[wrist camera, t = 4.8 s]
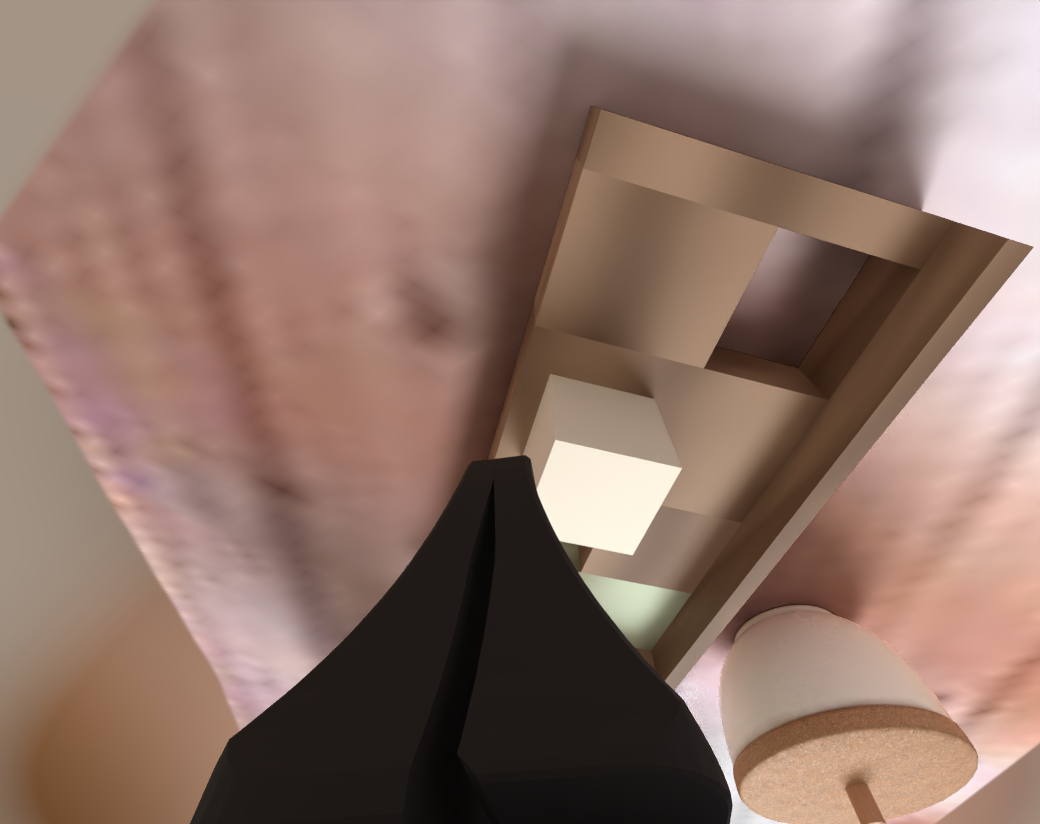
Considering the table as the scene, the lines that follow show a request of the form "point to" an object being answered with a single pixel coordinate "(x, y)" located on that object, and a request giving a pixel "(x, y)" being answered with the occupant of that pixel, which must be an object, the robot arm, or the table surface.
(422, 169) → the table surface
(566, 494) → the cream block
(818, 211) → the board
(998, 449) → the table surface
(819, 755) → the lidded jar
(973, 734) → the table surface
